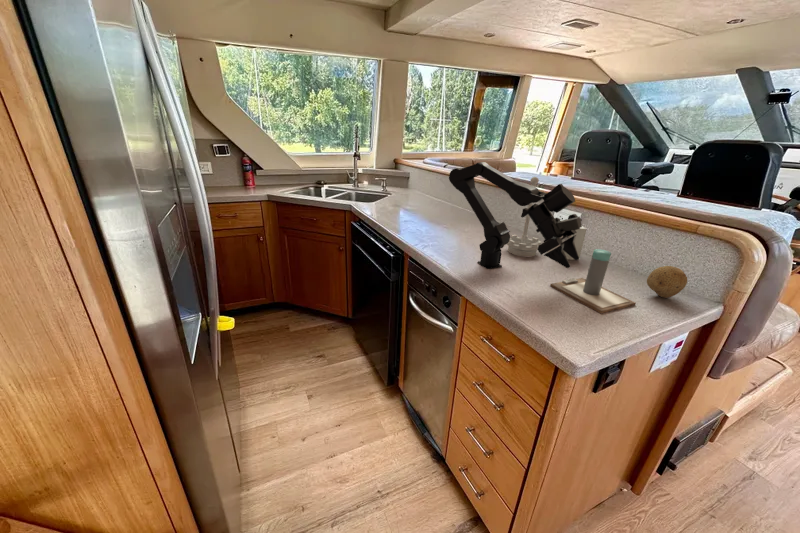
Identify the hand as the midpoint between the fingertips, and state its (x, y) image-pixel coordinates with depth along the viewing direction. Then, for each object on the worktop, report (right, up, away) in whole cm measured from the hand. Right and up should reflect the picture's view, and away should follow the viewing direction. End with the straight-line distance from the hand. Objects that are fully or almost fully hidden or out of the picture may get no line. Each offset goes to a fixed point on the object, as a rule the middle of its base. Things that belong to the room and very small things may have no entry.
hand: (573, 263), depth 100 cm
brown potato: (+26, -10, 0) cm, 28 cm away
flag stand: (-3, +5, +34) cm, 35 cm away
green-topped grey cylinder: (+5, -9, -1) cm, 10 cm away
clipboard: (+5, -10, -1) cm, 11 cm away
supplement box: (+14, +3, +31) cm, 34 cm away
